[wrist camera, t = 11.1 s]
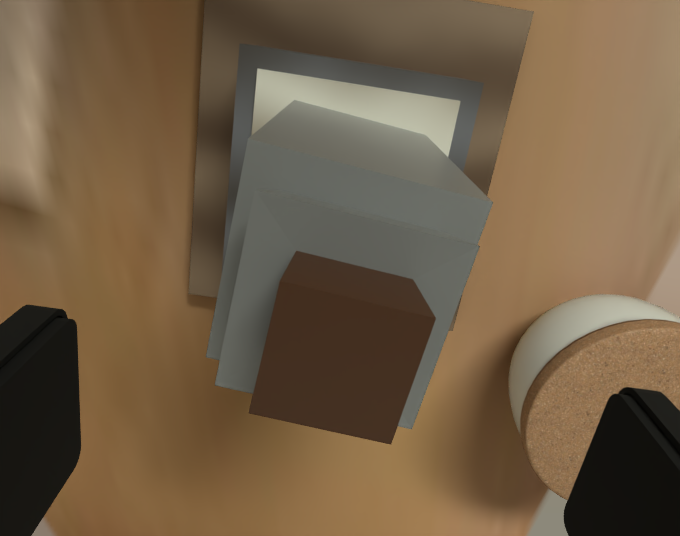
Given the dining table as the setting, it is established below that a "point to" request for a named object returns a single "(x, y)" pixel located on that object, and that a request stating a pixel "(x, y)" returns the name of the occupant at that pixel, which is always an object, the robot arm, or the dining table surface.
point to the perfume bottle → (342, 271)
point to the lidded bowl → (586, 375)
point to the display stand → (347, 87)
